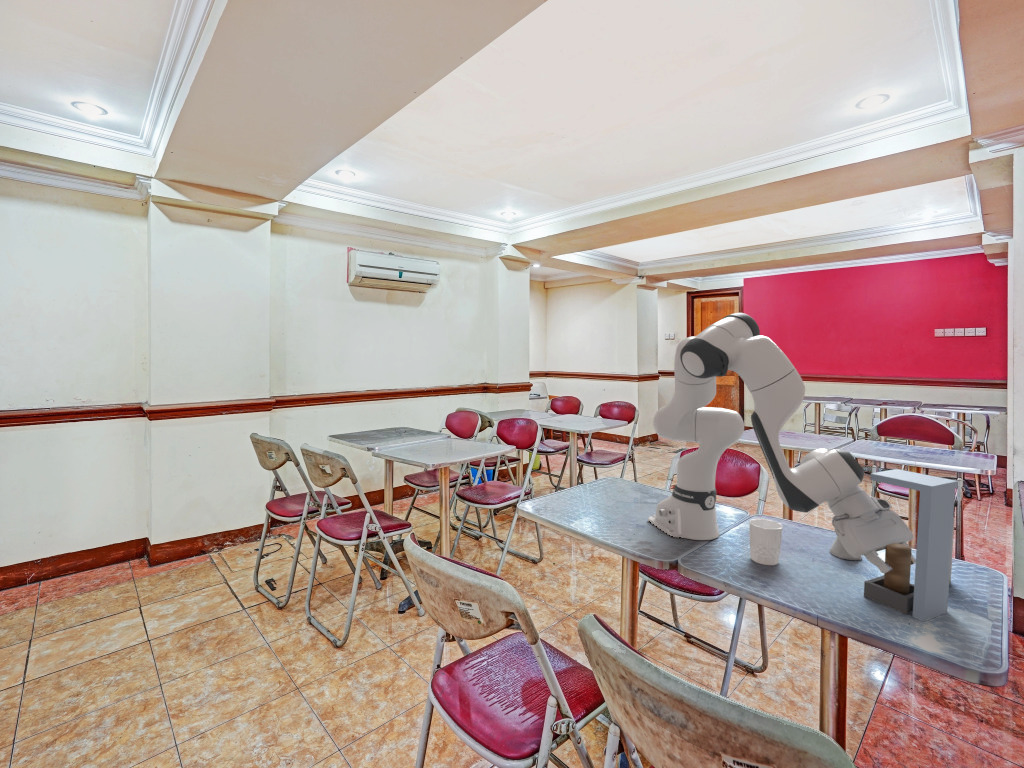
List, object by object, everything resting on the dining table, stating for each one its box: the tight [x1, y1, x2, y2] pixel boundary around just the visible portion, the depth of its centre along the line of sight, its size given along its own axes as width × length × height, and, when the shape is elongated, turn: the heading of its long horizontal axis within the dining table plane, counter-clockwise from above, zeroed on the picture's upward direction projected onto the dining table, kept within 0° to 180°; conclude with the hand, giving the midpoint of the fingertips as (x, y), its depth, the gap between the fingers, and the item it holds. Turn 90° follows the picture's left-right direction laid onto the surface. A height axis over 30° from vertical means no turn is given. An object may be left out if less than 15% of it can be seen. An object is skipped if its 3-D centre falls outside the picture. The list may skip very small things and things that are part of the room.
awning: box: [870, 468, 959, 622], centre depth 107 cm, size 12×10×28 cm
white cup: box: [748, 518, 784, 566], centre depth 130 cm, size 8×8×10 cm
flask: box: [829, 535, 863, 561], centre depth 133 cm, size 7×7×10 cm
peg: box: [883, 543, 912, 595], centre depth 109 cm, size 4×4×12 cm
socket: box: [863, 574, 915, 615], centre depth 109 cm, size 8×8×4 cm
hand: (900, 568), depth 108 cm, fingers open, 8 cm apart
